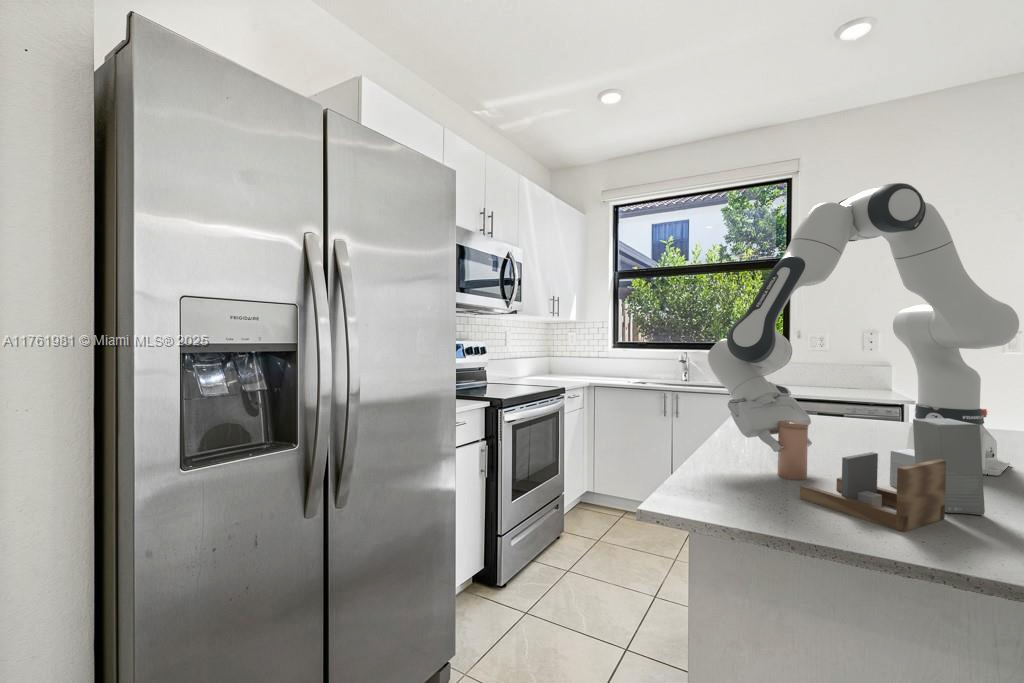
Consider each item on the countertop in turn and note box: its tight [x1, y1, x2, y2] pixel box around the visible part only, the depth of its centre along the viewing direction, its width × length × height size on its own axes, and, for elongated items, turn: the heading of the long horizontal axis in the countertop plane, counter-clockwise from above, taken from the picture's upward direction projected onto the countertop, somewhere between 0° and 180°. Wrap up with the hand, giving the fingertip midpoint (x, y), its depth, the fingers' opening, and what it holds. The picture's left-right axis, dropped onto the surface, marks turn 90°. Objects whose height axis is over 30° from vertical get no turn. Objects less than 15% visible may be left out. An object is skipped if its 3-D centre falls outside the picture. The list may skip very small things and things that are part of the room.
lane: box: [799, 459, 946, 533], centre depth 88 cm, size 13×17×10 cm
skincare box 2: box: [912, 418, 986, 516], centre depth 89 cm, size 8×7×16 cm
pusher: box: [841, 451, 883, 508], centre depth 88 cm, size 9×3×9 cm, turn 116°
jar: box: [777, 420, 809, 481], centre depth 107 cm, size 6×6×12 cm
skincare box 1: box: [889, 448, 915, 488], centre depth 99 cm, size 6×6×7 cm
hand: (794, 448), depth 107 cm, fingers open, 8 cm apart
